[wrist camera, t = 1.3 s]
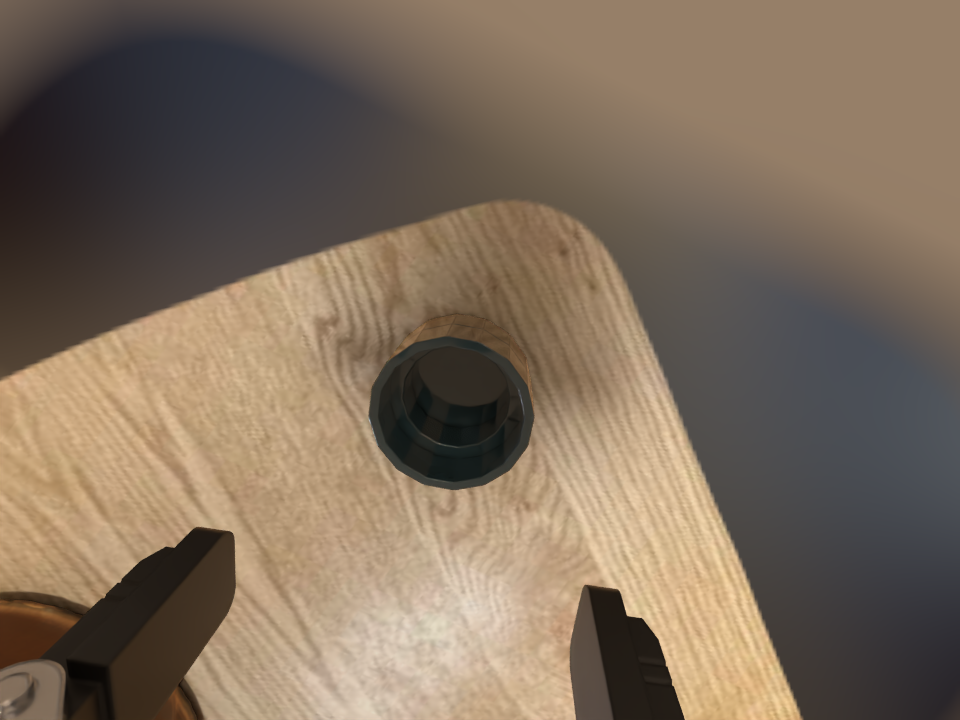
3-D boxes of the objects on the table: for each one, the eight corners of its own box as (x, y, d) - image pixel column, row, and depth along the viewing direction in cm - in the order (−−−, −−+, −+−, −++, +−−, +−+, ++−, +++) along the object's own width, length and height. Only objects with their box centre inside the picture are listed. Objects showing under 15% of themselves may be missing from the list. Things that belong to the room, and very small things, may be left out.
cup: (377, 328, 24) (348, 356, 20) (514, 299, 24) (514, 321, 19) (413, 451, 26) (394, 500, 22) (541, 428, 25) (547, 475, 21)
